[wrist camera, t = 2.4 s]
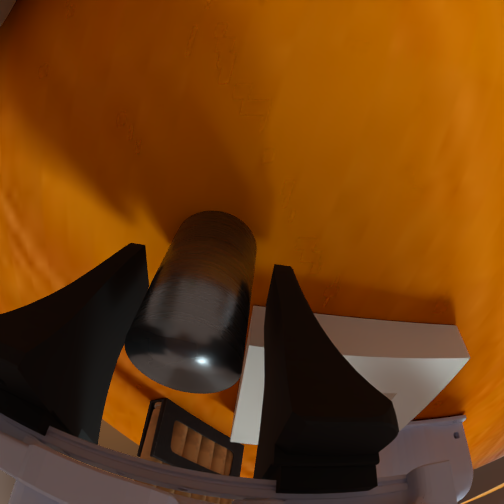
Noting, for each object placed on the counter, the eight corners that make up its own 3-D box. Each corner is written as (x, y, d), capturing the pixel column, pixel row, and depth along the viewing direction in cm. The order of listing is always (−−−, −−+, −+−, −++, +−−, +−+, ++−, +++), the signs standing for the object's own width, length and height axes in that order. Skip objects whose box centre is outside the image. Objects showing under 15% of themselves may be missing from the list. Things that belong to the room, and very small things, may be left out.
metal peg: (261, 217, 13) (248, 333, 8) (251, 284, 14) (236, 400, 10) (176, 205, 12) (114, 309, 8) (176, 273, 14) (134, 380, 10)
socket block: (456, 325, 15) (470, 357, 13) (377, 420, 22) (381, 446, 20) (253, 305, 15) (248, 345, 13) (233, 413, 22) (230, 441, 20)
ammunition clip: (150, 399, 22) (113, 533, 12) (165, 396, 22) (129, 539, 12) (229, 447, 27) (214, 554, 17) (244, 445, 26) (231, 556, 16)
